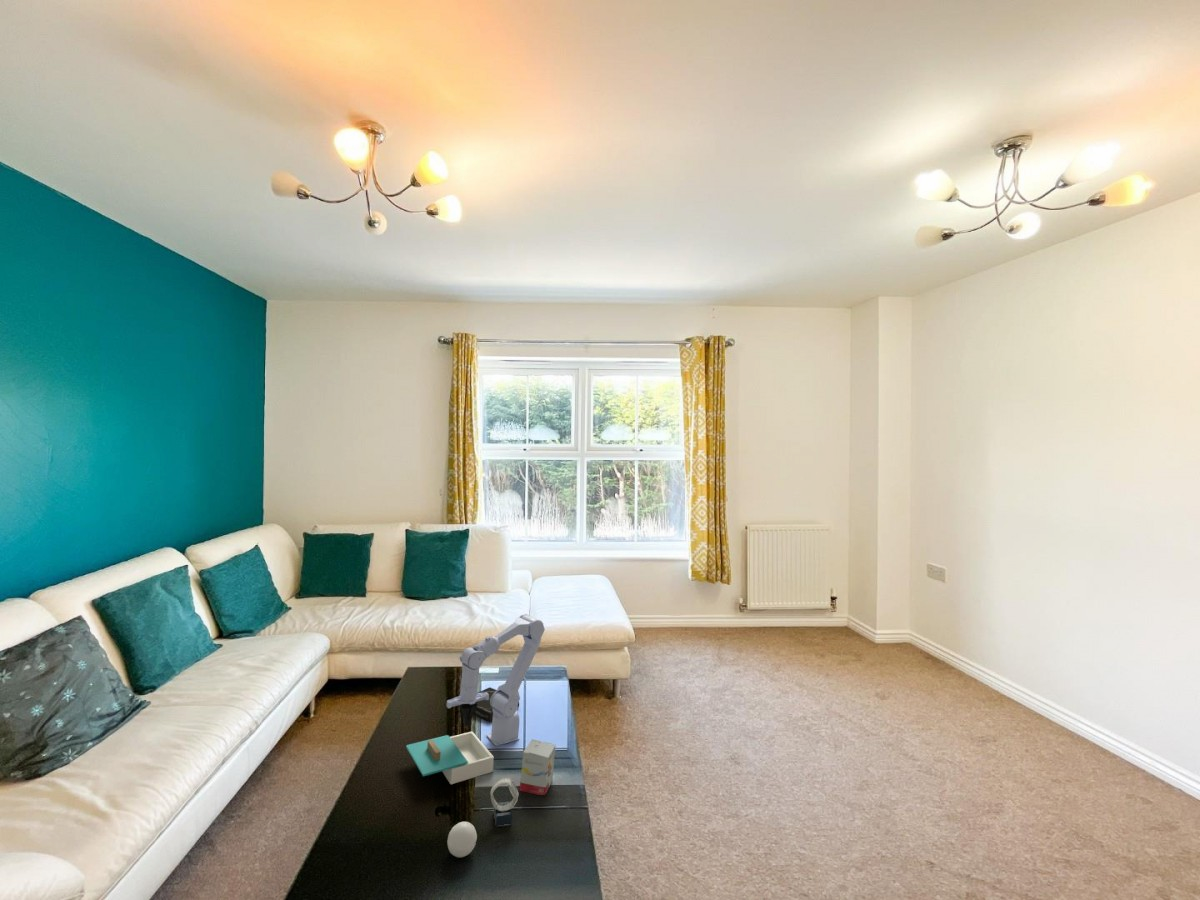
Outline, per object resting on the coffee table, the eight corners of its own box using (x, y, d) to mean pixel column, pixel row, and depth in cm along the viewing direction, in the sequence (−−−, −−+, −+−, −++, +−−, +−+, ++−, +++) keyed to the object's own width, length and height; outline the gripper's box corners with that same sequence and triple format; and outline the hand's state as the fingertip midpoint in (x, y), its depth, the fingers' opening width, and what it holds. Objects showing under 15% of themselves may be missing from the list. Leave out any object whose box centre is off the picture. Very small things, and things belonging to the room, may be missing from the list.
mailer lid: (447, 736, 176) (448, 727, 176) (467, 763, 162) (468, 753, 162) (406, 747, 168) (406, 737, 168) (423, 776, 153) (424, 766, 154)
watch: (518, 824, 144) (521, 784, 144) (489, 828, 141) (492, 788, 141) (515, 811, 149) (518, 772, 149) (487, 815, 146) (490, 775, 147)
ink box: (545, 796, 157) (548, 757, 157) (518, 790, 158) (522, 751, 159) (553, 780, 165) (556, 742, 165) (528, 774, 167) (531, 738, 167)
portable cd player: (519, 708, 212) (519, 698, 212) (489, 724, 197) (490, 713, 198) (490, 696, 221) (490, 686, 221) (459, 710, 206) (460, 700, 206)
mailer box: (471, 744, 181) (472, 731, 182) (492, 771, 167) (493, 756, 167) (431, 755, 173) (433, 741, 173) (450, 784, 159) (452, 769, 159)
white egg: (475, 863, 129) (478, 833, 129) (444, 866, 127) (447, 835, 127) (476, 835, 138) (479, 807, 139) (448, 837, 137) (450, 808, 137)
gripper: (453, 693, 170) (449, 734, 169) (493, 685, 178) (490, 724, 178) (445, 684, 176) (442, 725, 175) (485, 677, 184) (482, 715, 184)
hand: (465, 724), depth 177 cm, fingers closed
